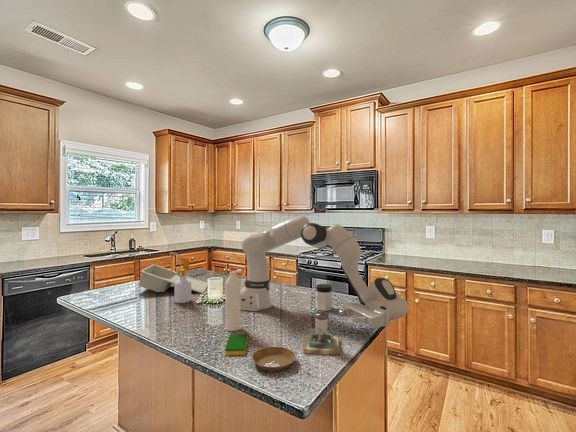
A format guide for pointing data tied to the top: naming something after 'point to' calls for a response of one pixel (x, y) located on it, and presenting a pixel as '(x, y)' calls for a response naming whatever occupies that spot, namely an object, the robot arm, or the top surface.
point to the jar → (323, 297)
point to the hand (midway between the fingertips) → (346, 316)
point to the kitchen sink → (166, 278)
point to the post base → (321, 345)
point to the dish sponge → (236, 344)
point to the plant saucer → (273, 358)
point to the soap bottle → (183, 285)
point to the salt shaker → (321, 326)
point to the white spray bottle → (233, 302)
